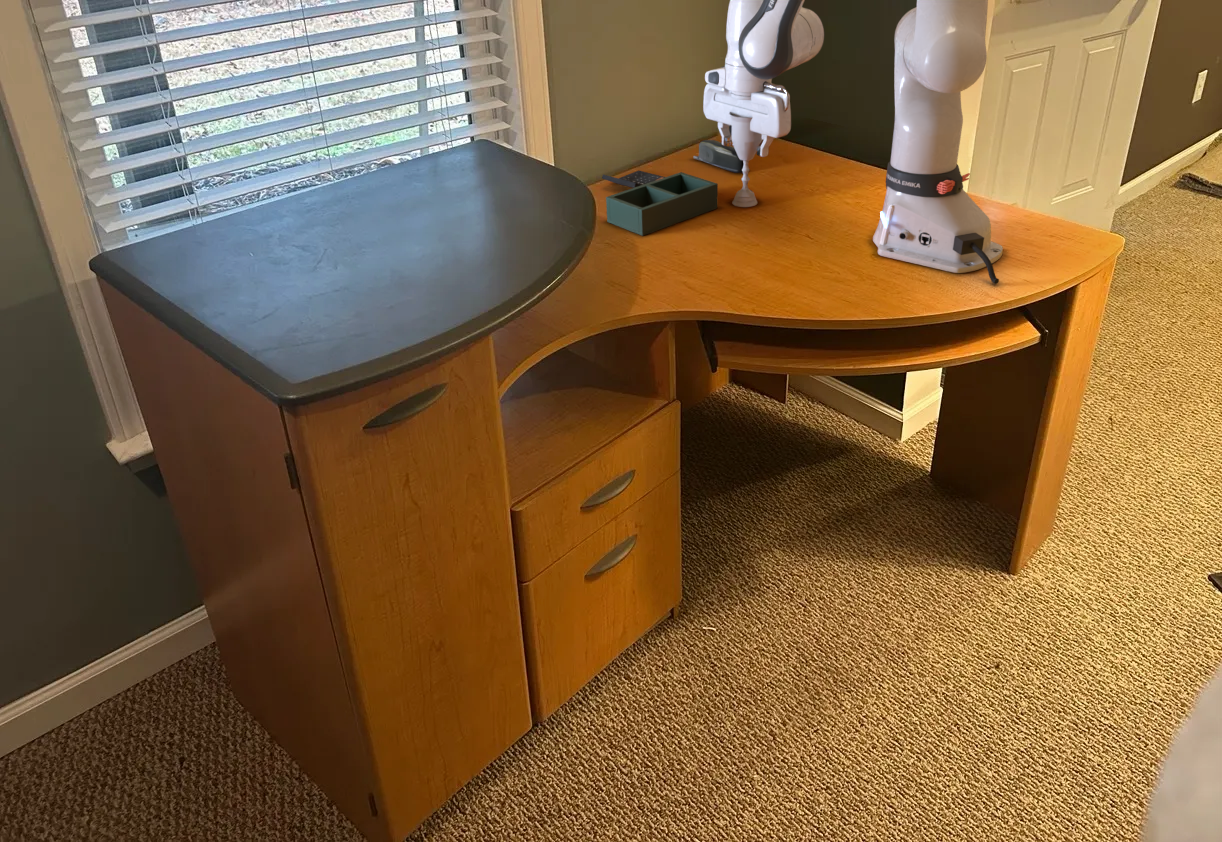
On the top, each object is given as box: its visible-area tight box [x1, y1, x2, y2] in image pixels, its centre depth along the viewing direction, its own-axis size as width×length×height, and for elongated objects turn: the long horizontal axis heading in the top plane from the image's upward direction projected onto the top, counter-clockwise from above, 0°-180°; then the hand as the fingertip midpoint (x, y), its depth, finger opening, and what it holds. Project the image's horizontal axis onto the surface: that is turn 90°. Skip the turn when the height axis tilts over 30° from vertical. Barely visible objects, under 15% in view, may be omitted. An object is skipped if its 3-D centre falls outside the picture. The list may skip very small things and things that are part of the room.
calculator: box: [601, 169, 666, 189], centre depth 209 cm, size 9×12×3 cm
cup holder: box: [605, 171, 719, 237], centre depth 193 cm, size 10×20×5 cm, turn 130°
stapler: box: [693, 139, 744, 174], centre depth 217 cm, size 5×3×15 cm
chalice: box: [729, 112, 762, 208], centre depth 194 cm, size 7×7×18 cm
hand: (744, 150), depth 193 cm, fingers open, 8 cm apart
